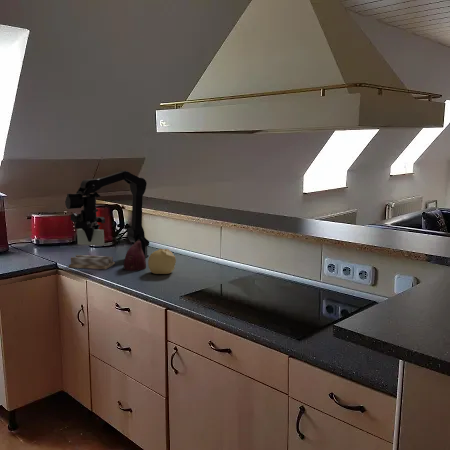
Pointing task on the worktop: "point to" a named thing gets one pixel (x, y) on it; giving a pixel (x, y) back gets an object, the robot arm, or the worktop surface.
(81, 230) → the rectangular block
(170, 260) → the yellow rounded lump
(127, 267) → the vegetable
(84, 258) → the track
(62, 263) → the worktop surface
